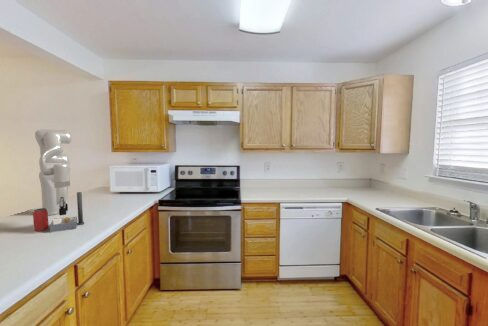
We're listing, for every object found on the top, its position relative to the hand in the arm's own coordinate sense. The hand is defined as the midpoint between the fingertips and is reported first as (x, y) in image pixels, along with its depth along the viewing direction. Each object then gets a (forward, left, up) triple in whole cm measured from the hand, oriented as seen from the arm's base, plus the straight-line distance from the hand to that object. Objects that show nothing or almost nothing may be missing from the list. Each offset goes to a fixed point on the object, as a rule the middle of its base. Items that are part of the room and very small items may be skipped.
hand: (63, 212), depth 145 cm
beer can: (-2, -11, -9) cm, 14 cm away
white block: (+4, -3, -5) cm, 7 cm away
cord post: (-2, +8, -9) cm, 12 cm away
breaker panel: (0, 0, -9) cm, 9 cm away
